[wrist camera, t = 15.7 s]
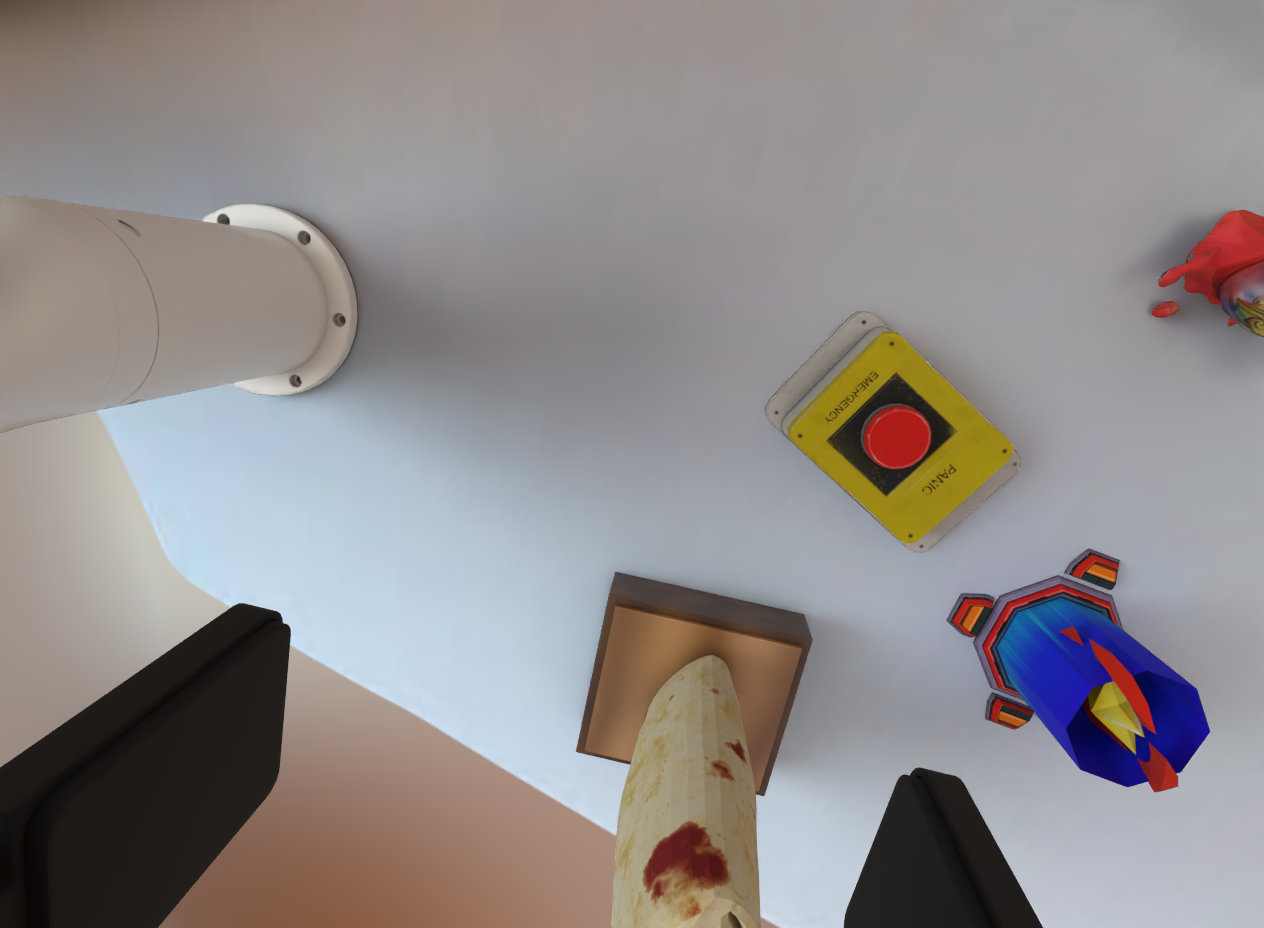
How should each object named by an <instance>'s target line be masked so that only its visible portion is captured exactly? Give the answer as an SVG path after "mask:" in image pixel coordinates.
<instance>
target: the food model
mask: <svg viewBox="0 0 1264 928" xmlns="http://www.w3.org/2000/svg"><path fill="white" fill-rule="evenodd" d="M612 910H613V911H612V925H611V928H761V925H760V896H759V871H758V857H757V832H756V792H755V783H754V778H753V773H752V768H751V763H750V758H749V753H748V748H747V742H746V736H745V731H744V726H743V720H742V715H741V710H740V704H739V701H738V698H737V695H736V691H735V688H734V685H733V681H732V678H731V675H730V673H729V670H728V667H727V665H726V663H725V662H724V661H723V660H721V659H720V658H718V657H716V656H714V655H708V656H704V657H702V658H699V659H697V660H695V661H693V662H691V663H689V664H687V665H686V666H685V667H683V668H682V669H681V670H679V671H678V672H677V673H676V674H674V675H673V676H672V677H671V678H670V679H669V680H668V681H667V682H666V683H665V684H664V685H663V686H662V687H661V688H660V690H659V691H658V693H657V694H656V695H655V697H654V698H653V700H652V701H651V703H650V705H649V707H648V709H647V712H646V715H645V720H644V723H643V725H642V727H641V729H640V731H639V735H638V738H637V742H636V746H635V749H634V753H633V757H632V761H631V765H630V769H629V772H628V776H627V780H626V783H625V787H624V791H623V794H622V798H621V804H620V810H619V816H618V826H617V836H616V854H615V868H614V883H613V909H612Z"/></svg>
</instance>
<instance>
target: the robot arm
mask: <svg viewBox="0 0 1264 928" xmlns="http://www.w3.org/2000/svg"><path fill="white" fill-rule="evenodd" d="M309 236H310V237H311V240H310V241H309ZM343 317H345V321H346V322H344V321H343ZM357 318H358V317H357V299H356V294H355V290H354V286H353V281H352V279H351V276H350V274H349V272H348V269H347V267H346V264H345V262H344V261H343V259H342V258H341V256H340V254H339V253H338V251H337V250H336V248H335V247H334V246H333V244H332V243H331V242H330V241H329V240H328V239H327V238H326V237H325V235H324V234H323V233H322V232H321V231H319V230H318V229H317V228H316V227H314V226H313V225H312V224H311V223H309V222H308V221H307V220H305V219H303V218H301V217H299V216H297V215H296V214H294V213H292V212H290V211H286V210H283V209H280V208H277V207H274V206H268V205H262V204H236V205H231V206H227V207H223V208H221V209H219V210H217V211H215V212H212V213H210V214H208V215H207V216H206V217H205V218H203V219H202V220H201V221H197V220H190V219H183V218H175V217H168V216H161V215H154V214H146V213H139V212H132V211H125V210H117V209H110V208H103V207H96V206H88V205H81V204H74V203H67V202H59V201H53V200H47V199H39V198H32V197H24V196H5V195H0V433H2V432H6V431H9V430H13V429H17V428H20V427H24V426H28V425H32V424H36V423H40V422H45V421H49V420H53V419H58V418H62V417H67V416H72V415H77V414H82V413H86V412H91V411H96V410H101V409H107V408H112V407H117V406H122V405H127V404H132V403H137V402H142V401H146V400H151V399H156V398H161V397H166V396H171V395H176V394H181V393H186V392H191V391H196V390H201V389H205V388H210V387H215V386H220V385H225V384H230V383H231V384H232V385H234V386H236V387H238V388H240V389H243V390H246V391H249V392H252V393H255V394H260V395H268V396H282V395H291V394H295V393H299V392H303V391H306V390H308V389H311V388H313V387H316V386H318V385H320V384H321V383H322V382H324V381H325V380H327V379H328V378H330V377H331V376H332V375H333V374H334V373H335V372H336V371H337V369H338V368H339V367H340V366H341V365H342V363H343V362H344V360H345V358H346V357H347V355H348V353H349V351H350V349H351V346H352V343H353V340H354V337H355V333H356V325H357ZM300 378H301V381H302V382H301V381H300ZM290 636H291V630H290V627H289V625H287V624H284V623H283V621H282V616H281V614H280V613H279V612H277V611H273V610H269V609H265V608H261V607H256V606H252V605H248V604H244V603H239V604H237V605H235V606H233V607H231V608H230V609H228V610H227V611H226V612H224V613H223V614H221V615H220V616H218V617H217V618H215V619H214V620H213V621H211V622H210V623H208V624H207V625H205V626H204V627H203V628H201V629H200V630H198V631H197V632H195V633H194V634H192V635H191V636H190V637H188V638H187V639H185V640H184V641H183V642H181V643H179V644H178V645H176V646H175V647H174V648H172V649H171V650H169V651H168V652H166V653H165V654H164V655H162V656H161V657H159V658H158V659H156V660H155V661H153V662H152V663H151V664H149V665H148V666H146V667H145V668H143V669H142V670H140V671H139V672H138V673H136V674H135V675H133V676H132V677H130V678H129V679H128V680H126V681H125V682H123V683H122V684H120V685H119V686H117V687H116V688H115V689H113V690H112V691H111V692H109V693H107V694H106V695H104V696H103V697H102V698H100V699H99V700H97V701H96V702H94V703H93V704H91V705H90V706H89V707H87V708H86V709H84V710H83V711H81V712H80V713H78V714H77V715H76V716H74V717H73V718H71V719H70V720H68V721H67V722H65V723H64V724H63V725H61V726H60V727H58V728H57V729H55V730H54V731H52V732H51V733H50V734H48V735H47V736H45V737H44V738H42V739H41V740H40V741H38V742H37V743H35V744H34V745H32V746H31V747H29V748H28V749H26V750H25V751H24V752H22V753H21V754H19V755H18V756H16V757H15V758H13V759H12V760H11V761H9V762H8V763H6V764H5V765H3V766H2V767H0V928H158V927H159V925H160V924H161V923H162V922H163V921H164V919H165V918H166V917H167V916H168V915H169V914H170V912H171V911H172V910H173V909H174V908H175V906H176V905H177V904H178V903H179V902H180V900H181V899H182V898H183V897H184V896H185V894H186V893H187V892H188V891H189V890H190V888H191V887H192V886H193V885H194V883H195V882H196V881H197V880H198V879H199V878H200V876H201V875H202V874H203V873H204V872H205V870H206V869H207V868H208V867H209V866H210V864H211V863H212V862H213V861H214V860H215V858H216V857H217V856H218V854H220V853H221V851H222V850H223V849H224V848H225V846H226V845H227V844H228V843H229V842H230V841H231V839H232V838H233V837H234V836H235V834H236V833H237V832H238V831H239V830H240V829H241V827H242V826H243V825H244V823H246V821H247V820H248V819H249V818H250V817H251V815H252V814H253V813H254V812H255V811H256V809H257V808H258V807H259V805H261V803H262V802H263V801H264V800H265V799H266V797H267V796H268V795H269V793H270V792H271V790H272V788H273V786H274V784H275V782H276V780H277V777H278V773H279V768H280V756H281V745H282V733H283V721H284V708H285V696H286V684H287V673H288V660H289V648H290ZM844 928H1043V927H1042V925H1041V923H1040V921H1039V919H1038V918H1037V916H1036V914H1035V912H1034V910H1033V908H1032V907H1031V905H1030V903H1029V901H1028V899H1027V898H1026V896H1025V894H1024V892H1023V890H1022V888H1021V887H1020V885H1019V883H1018V881H1017V879H1016V878H1015V876H1014V874H1013V872H1012V870H1011V868H1010V867H1009V865H1008V863H1007V861H1006V859H1005V858H1004V856H1003V854H1002V852H1001V850H1000V848H999V847H998V845H997V843H996V841H995V839H994V838H993V836H992V834H991V832H990V830H989V828H988V827H987V825H986V823H985V821H984V819H983V818H982V816H981V814H980V812H979V810H978V808H977V807H976V805H975V803H974V801H973V799H972V798H971V796H970V794H969V792H968V790H967V788H966V787H965V785H964V783H963V782H962V781H961V779H960V778H958V777H956V776H953V775H949V774H944V773H940V772H936V771H932V770H928V769H924V768H915V769H914V770H913V771H912V772H911V774H910V776H909V775H902V776H900V777H899V779H898V781H897V783H896V786H895V788H894V791H893V793H892V796H891V798H890V801H889V803H888V806H887V808H886V811H885V813H884V816H883V819H882V821H881V824H880V826H879V829H878V831H877V834H876V836H875V839H874V841H873V844H872V847H871V849H870V852H869V854H868V857H867V859H866V862H865V864H864V867H863V869H862V872H861V875H860V877H859V880H858V882H857V885H856V887H855V890H854V892H853V895H852V897H851V900H850V903H849V905H848V908H847V911H846V914H845V920H844Z"/></svg>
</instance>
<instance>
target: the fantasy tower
mask: <svg viewBox="0 0 1264 928" xmlns="http://www.w3.org/2000/svg"><path fill="white" fill-rule="evenodd" d="M1119 562H1120V560H1117V559H1115V558H1112V557H1109V556H1107V555H1104V554H1101V553H1099V552H1096V551H1093V550H1091V549H1088V550H1086V551H1085V552H1084V553H1083V554H1082V555H1080V556H1079V557H1078V558H1077V559H1076V560H1074V561H1073V562H1072V563H1071V564H1070V565H1069V566H1068V568H1067V570H1066V571H1065V573H1066V574H1069V575H1071V576H1074V577H1077V578H1079V579H1082V580H1085V581H1087V582H1090V583H1093V584H1095V585H1098V586H1101V587H1103V588H1106V589H1109V590H1112V589H1113V587H1114V586H1115V584H1116V578H1117V573H1118V567H1119ZM993 601H994V597H991V596H988V595H986V594H961V596H960V597H959V599H958V601H957V603H956V605H955V606H954V608H953V610H952V612H951V613H950V615H949V617H948V619H947V622H949V623H950V624H951V625H952V626H953V627H954V628H955V629H956V630H958V631H959V632H960V633H961V634H962V635H965V636H968V637H970V638H971V637H975V636H977V637H976V639H975V641H974V642H973V643H974V646H975V648H976V651H977V653H978V656H979V659H980V661H981V664H982V666H983V669H984V672H985V674H986V677H987V679H988V682H989V684H990V687H991V688H993V689H995V690H998V691H1001V692H1003V693H1006V694H1009V695H1011V696H1014V697H1017V698H1019V699H1022V700H1025V701H1026V702H1027V704H1028V705H1029V706H1030V707H1029V706H1026V705H1023V704H1021V703H1018V702H1015V701H1013V700H1010V699H1007V698H1005V697H1002V696H999V695H997V694H994V693H992V694H991V696H990V698H989V699H988V702H987V709H986V717H985V719H987V720H989V721H992V722H995V723H997V724H1000V725H1003V726H1005V727H1008V728H1011V729H1013V730H1015V729H1017V728H1019V727H1021V726H1022V725H1024V724H1025V723H1027V722H1028V721H1030V719H1031V717H1032V716H1033V714H1034V712H1035V714H1036V715H1037V716H1038V717H1039V719H1040V720H1041V721H1042V722H1043V724H1044V725H1045V726H1046V727H1047V729H1048V730H1049V731H1050V732H1051V734H1052V735H1053V736H1054V737H1055V739H1056V740H1057V741H1058V742H1059V744H1060V745H1061V746H1062V747H1063V749H1064V750H1065V751H1066V752H1067V754H1068V755H1069V756H1070V757H1071V759H1072V760H1073V761H1074V762H1075V763H1076V765H1077V766H1078V767H1079V768H1080V770H1082V771H1085V772H1088V773H1091V774H1093V775H1096V776H1099V777H1101V778H1104V779H1107V780H1109V781H1112V782H1115V783H1117V784H1120V785H1123V786H1125V787H1130V786H1134V785H1137V784H1141V783H1144V782H1149V784H1150V786H1151V787H1152V789H1153V791H1154V792H1160V791H1164V790H1167V789H1171V788H1174V787H1178V776H1177V774H1176V773H1180V772H1181V771H1182V770H1183V768H1184V767H1185V766H1186V764H1187V763H1188V762H1189V760H1190V759H1191V757H1192V756H1193V755H1194V753H1195V752H1196V751H1197V749H1198V748H1199V746H1200V745H1201V744H1202V742H1203V741H1204V740H1205V738H1206V737H1207V735H1208V734H1209V733H1210V729H1209V726H1208V723H1207V720H1206V717H1205V713H1204V710H1203V707H1202V704H1201V701H1200V697H1199V694H1198V691H1197V689H1196V688H1195V687H1194V686H1193V685H1191V684H1190V683H1189V682H1187V681H1186V680H1185V679H1184V678H1182V677H1181V676H1180V675H1179V674H1177V673H1176V672H1175V671H1174V670H1172V669H1171V668H1170V667H1169V666H1167V665H1166V664H1165V663H1164V662H1162V661H1161V660H1160V659H1159V658H1157V657H1156V656H1155V655H1154V654H1152V653H1151V652H1150V651H1149V650H1147V649H1146V648H1145V647H1144V646H1142V645H1141V644H1140V643H1139V642H1137V641H1136V640H1135V639H1134V638H1132V637H1131V636H1130V635H1128V634H1127V633H1126V632H1125V631H1123V628H1122V625H1121V622H1120V619H1119V616H1118V613H1117V610H1116V607H1115V604H1114V601H1113V598H1112V596H1111V595H1109V594H1106V593H1103V592H1101V591H1098V590H1095V589H1093V588H1090V587H1087V586H1085V585H1082V584H1079V583H1077V582H1074V581H1071V580H1069V579H1066V578H1063V577H1061V576H1056V577H1053V578H1050V579H1047V580H1044V581H1041V582H1038V583H1036V584H1033V585H1030V586H1027V587H1024V588H1021V589H1018V590H1016V591H1013V592H1010V593H1007V594H1004V595H1001V596H1000V597H999V599H998V601H997V602H996V604H995V606H994V608H993V609H992V607H993ZM991 610H992V611H991ZM990 612H991V613H990ZM989 613H990V615H989ZM988 615H989V616H988ZM987 617H988V618H987ZM986 618H987V620H986ZM985 620H986V621H985ZM984 622H985V623H984ZM983 624H984V625H983ZM982 625H983V627H982ZM981 627H982V628H981ZM980 629H981V630H980ZM979 631H980V632H979ZM978 632H979V634H978ZM977 634H978V635H977Z"/></svg>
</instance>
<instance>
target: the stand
mask: <svg viewBox="0 0 1264 928" xmlns="http://www.w3.org/2000/svg"><path fill="white" fill-rule="evenodd" d="M811 643H812V637H811V634H810V631H809V628H808V625H807V622H806V619H805V616H804V615H803V614H799V613H795V612H790V611H786V610H781V609H777V608H772V607H768V606H763V605H759V604H755V603H750V602H746V601H741V600H737V599H732V598H728V597H724V596H719V595H715V594H710V593H706V592H701V591H697V590H692V589H688V588H684V587H679V586H675V585H670V584H666V583H661V582H657V581H652V580H648V579H644V578H639V577H635V576H630V575H626V574H621V573H617V572H615V575H614V579H613V582H612V586H611V589H610V593H609V597H608V602H607V607H606V611H605V616H604V621H603V626H602V631H601V635H600V640H599V645H598V650H597V654H596V659H595V664H594V669H593V673H592V678H591V683H590V688H589V692H588V697H587V702H586V707H585V711H584V716H583V721H582V726H581V730H580V735H579V740H578V745H577V749H576V752H579V753H583V754H587V755H592V756H596V757H600V758H604V759H609V760H613V761H617V762H621V763H626V764H630V765H631V761H632V757H633V753H634V749H635V746H636V742H637V738H638V735H639V731H640V729H641V727H642V725H643V723H644V720H645V715H646V712H647V709H648V707H649V705H650V703H651V701H652V700H653V698H654V697H655V695H656V694H657V693H658V691H659V690H660V688H661V687H662V686H663V685H664V684H665V683H666V682H667V681H668V680H669V679H670V678H671V677H672V676H673V675H674V674H676V673H677V672H678V671H679V670H681V669H682V668H683V667H685V666H686V665H687V664H689V663H691V662H693V661H695V660H697V659H699V658H702V657H704V656H708V655H714V656H716V657H718V658H720V659H721V660H723V661H724V662H725V663H726V665H727V667H728V670H729V673H730V675H731V678H732V681H733V685H734V688H735V691H736V695H737V698H738V701H739V704H740V710H741V715H742V720H743V726H744V731H745V736H746V742H747V748H748V753H749V758H750V763H751V768H752V773H753V778H754V783H755V792H756V794H757V795H761V796H764V795H765V792H766V789H767V786H768V782H769V779H770V776H771V773H772V769H773V766H774V763H775V760H776V757H777V753H778V750H779V747H780V744H781V740H782V737H783V734H784V731H785V727H786V724H787V721H788V718H789V714H790V711H791V708H792V705H793V702H794V698H795V695H796V692H797V689H798V685H799V682H800V679H801V676H802V672H803V669H804V666H805V663H806V660H807V656H808V653H809V650H810V647H811Z"/></svg>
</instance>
